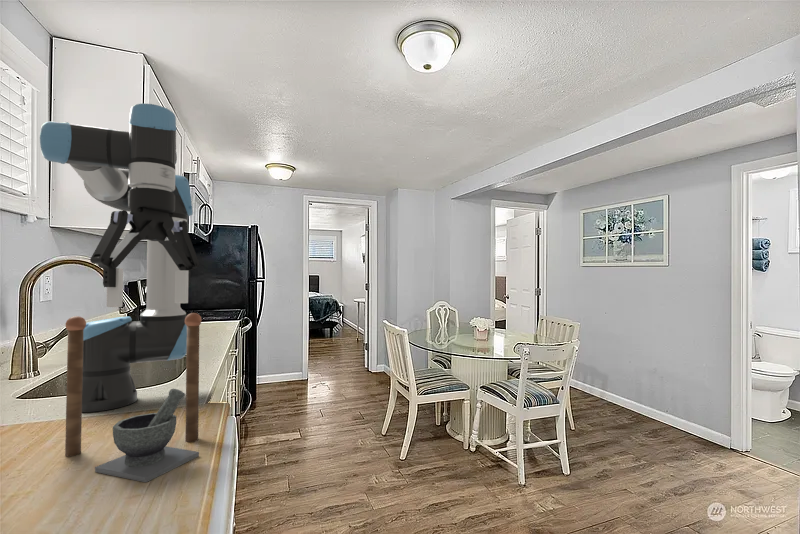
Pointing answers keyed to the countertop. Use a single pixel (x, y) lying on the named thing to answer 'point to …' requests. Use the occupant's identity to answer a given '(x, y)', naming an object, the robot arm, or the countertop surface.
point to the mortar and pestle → (147, 433)
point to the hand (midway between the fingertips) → (150, 305)
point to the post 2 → (192, 376)
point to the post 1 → (74, 385)
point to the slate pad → (148, 472)
